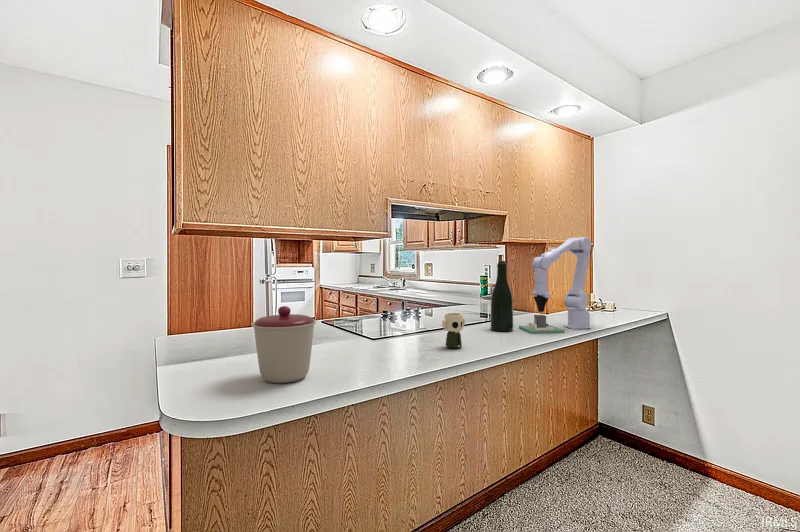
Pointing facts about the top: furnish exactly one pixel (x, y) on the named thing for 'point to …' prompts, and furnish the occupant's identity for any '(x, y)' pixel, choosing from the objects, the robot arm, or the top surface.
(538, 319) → the plug
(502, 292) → the wine bottle
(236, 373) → the top surface
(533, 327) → the board
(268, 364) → the canister
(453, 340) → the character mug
